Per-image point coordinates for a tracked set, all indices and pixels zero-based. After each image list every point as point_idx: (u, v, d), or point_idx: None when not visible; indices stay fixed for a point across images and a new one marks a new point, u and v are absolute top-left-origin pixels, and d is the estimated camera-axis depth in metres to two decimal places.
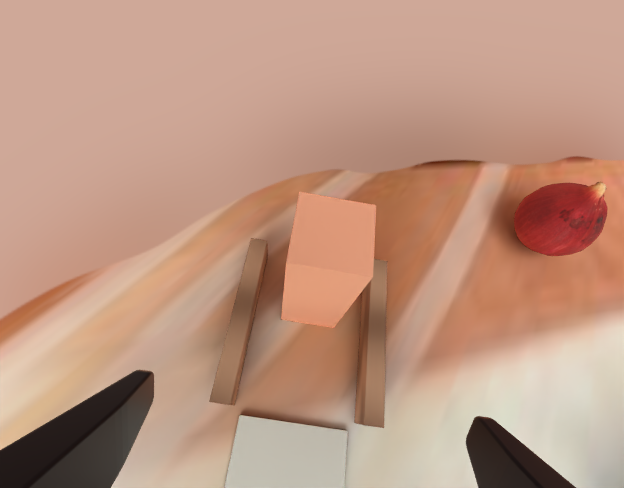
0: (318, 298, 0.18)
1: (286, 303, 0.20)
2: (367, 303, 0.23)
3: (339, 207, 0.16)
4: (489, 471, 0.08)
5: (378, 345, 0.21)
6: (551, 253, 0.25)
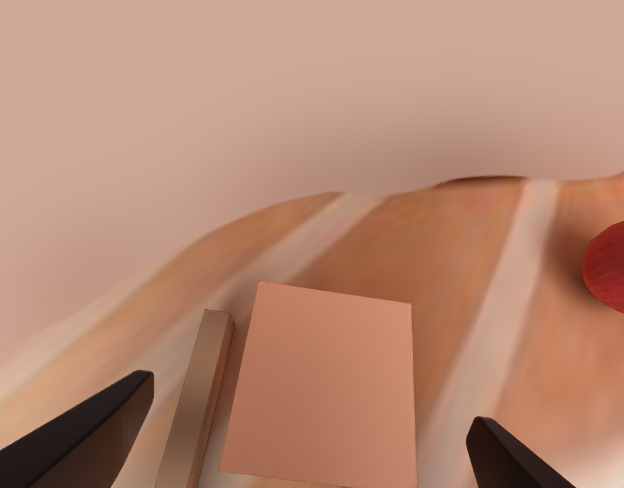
0: None
1: None
2: None
3: (339, 313, 0.08)
4: (489, 471, 0.08)
5: None
6: None
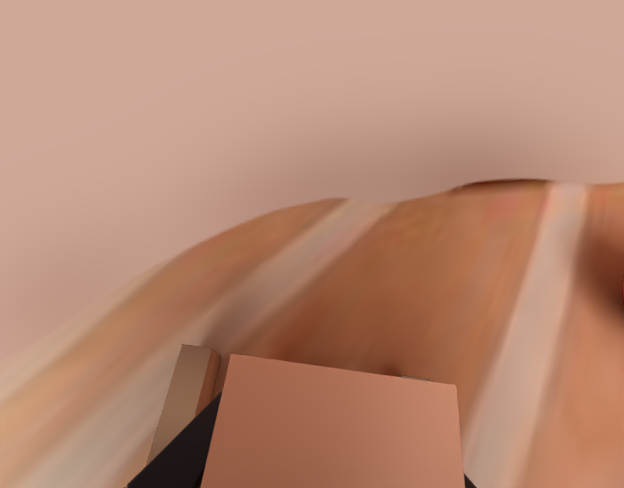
0: None
1: None
2: None
3: (350, 404, 0.05)
4: None
5: None
6: None
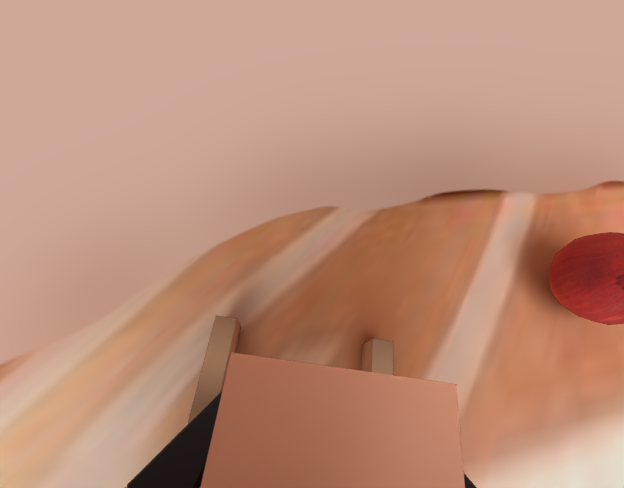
0: None
1: None
2: None
3: (350, 403, 0.05)
4: None
5: None
6: (599, 321, 0.20)
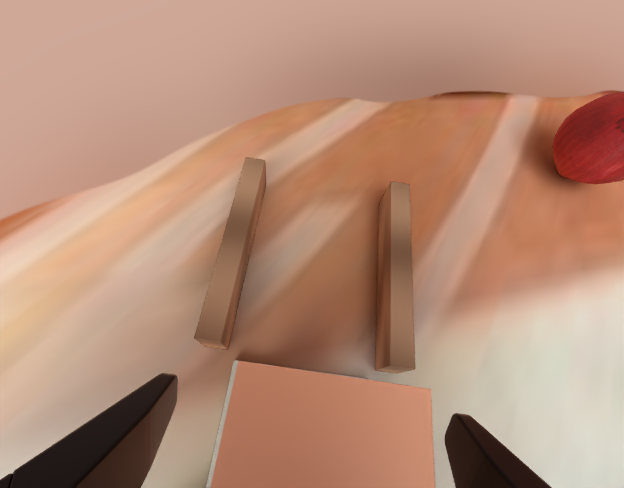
0: None
1: None
2: (387, 231, 0.19)
3: (339, 405, 0.06)
4: (465, 468, 0.08)
5: (403, 275, 0.17)
6: (600, 179, 0.22)
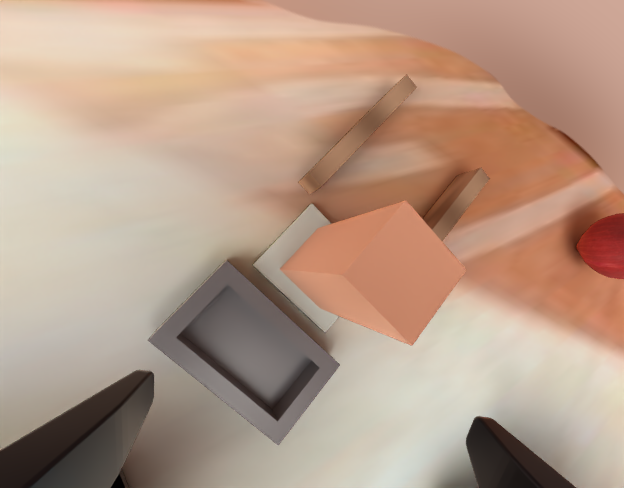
0: (334, 299, 0.16)
1: (300, 274, 0.17)
2: (452, 197, 0.24)
3: (431, 247, 0.13)
4: (489, 471, 0.08)
5: (443, 230, 0.23)
6: (597, 266, 0.28)
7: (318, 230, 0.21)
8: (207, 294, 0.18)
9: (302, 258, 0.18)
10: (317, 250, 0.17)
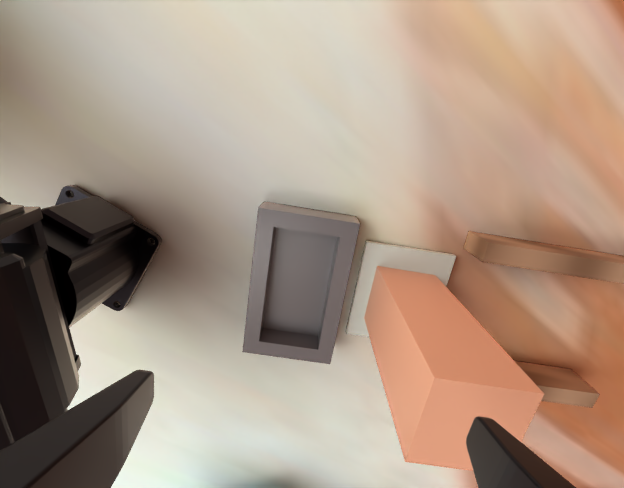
0: (391, 349, 0.15)
1: (391, 300, 0.17)
2: (546, 380, 0.22)
3: None
4: (489, 471, 0.08)
5: None
6: None
7: (434, 279, 0.20)
8: (321, 227, 0.18)
9: (404, 289, 0.18)
10: (423, 304, 0.16)
